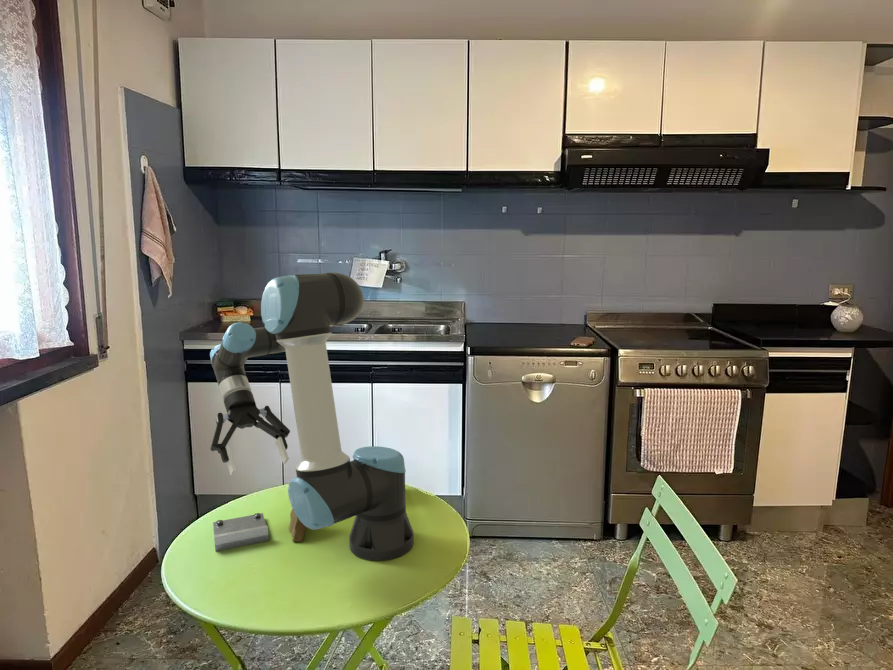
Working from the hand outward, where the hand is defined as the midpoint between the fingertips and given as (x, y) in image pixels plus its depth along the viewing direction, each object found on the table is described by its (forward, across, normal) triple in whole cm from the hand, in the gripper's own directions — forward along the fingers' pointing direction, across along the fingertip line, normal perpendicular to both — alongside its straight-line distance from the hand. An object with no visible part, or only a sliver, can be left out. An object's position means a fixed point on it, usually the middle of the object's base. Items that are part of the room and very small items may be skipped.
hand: (260, 467), depth 151 cm
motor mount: (+12, +6, -9) cm, 16 cm away
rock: (+18, -5, -3) cm, 19 cm away
